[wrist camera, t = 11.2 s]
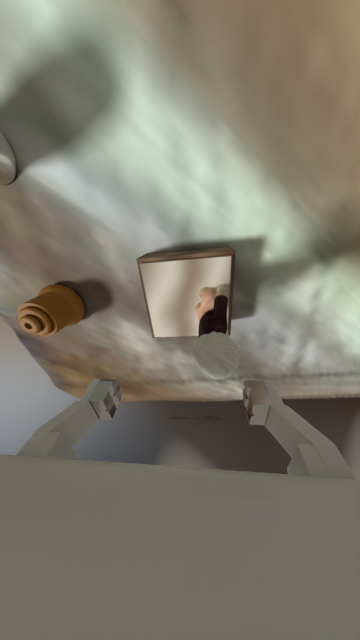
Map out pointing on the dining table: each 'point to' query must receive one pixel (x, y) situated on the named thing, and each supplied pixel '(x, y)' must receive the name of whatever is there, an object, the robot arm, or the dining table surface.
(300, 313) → the dining table surface
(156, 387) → the dining table surface
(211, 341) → the grandmother figurine
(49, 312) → the ornamental finial
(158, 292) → the plinth
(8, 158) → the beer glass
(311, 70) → the dining table surface
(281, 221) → the dining table surface
